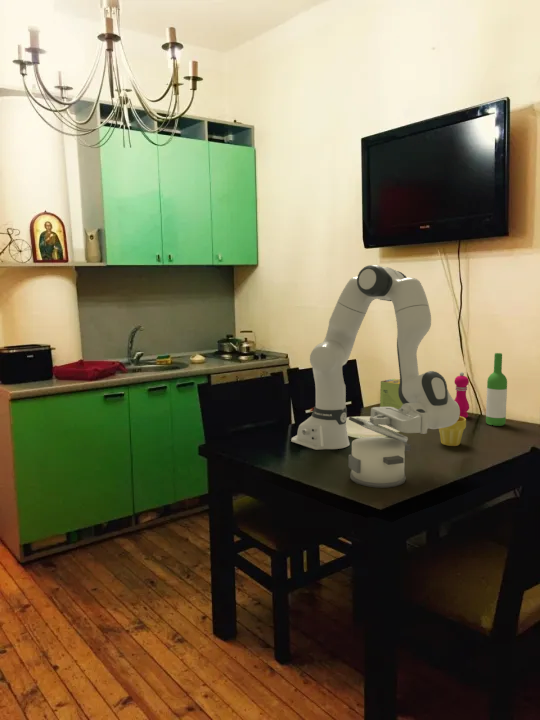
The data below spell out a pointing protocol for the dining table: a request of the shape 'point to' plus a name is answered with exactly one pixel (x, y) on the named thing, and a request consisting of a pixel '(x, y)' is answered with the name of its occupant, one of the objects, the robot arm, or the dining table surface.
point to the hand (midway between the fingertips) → (371, 421)
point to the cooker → (378, 461)
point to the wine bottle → (496, 394)
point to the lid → (380, 429)
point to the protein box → (390, 394)
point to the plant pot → (453, 433)
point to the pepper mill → (462, 394)
